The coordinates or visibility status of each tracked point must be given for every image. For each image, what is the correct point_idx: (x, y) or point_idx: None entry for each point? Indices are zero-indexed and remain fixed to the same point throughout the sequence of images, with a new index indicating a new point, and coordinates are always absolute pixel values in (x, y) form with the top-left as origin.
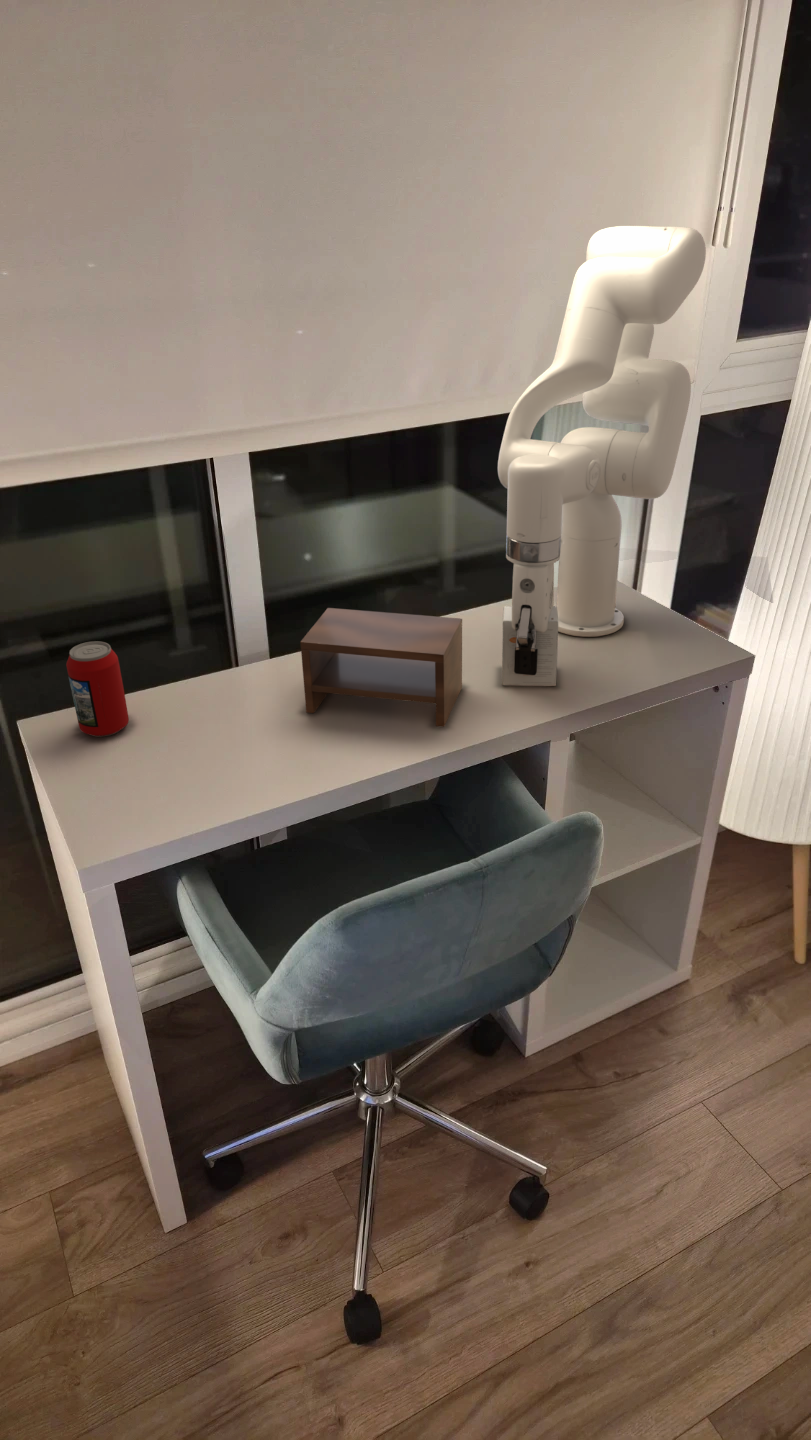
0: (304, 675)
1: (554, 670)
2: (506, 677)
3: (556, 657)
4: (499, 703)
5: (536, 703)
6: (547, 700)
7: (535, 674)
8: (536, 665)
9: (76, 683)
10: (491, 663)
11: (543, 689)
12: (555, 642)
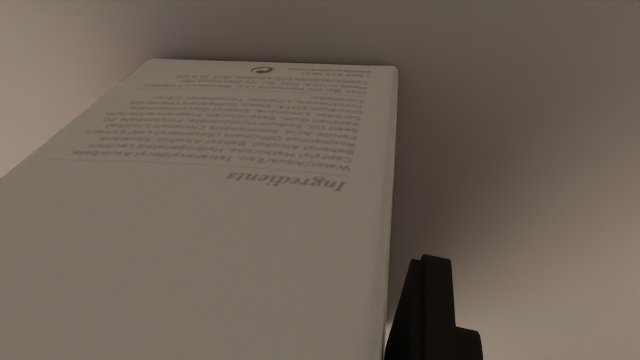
0: None
1: (395, 132)
2: (384, 353)
3: (386, 187)
4: (583, 355)
5: (625, 192)
6: (595, 126)
7: (450, 260)
8: (453, 311)
9: None
10: None
11: (429, 139)
12: (378, 338)
